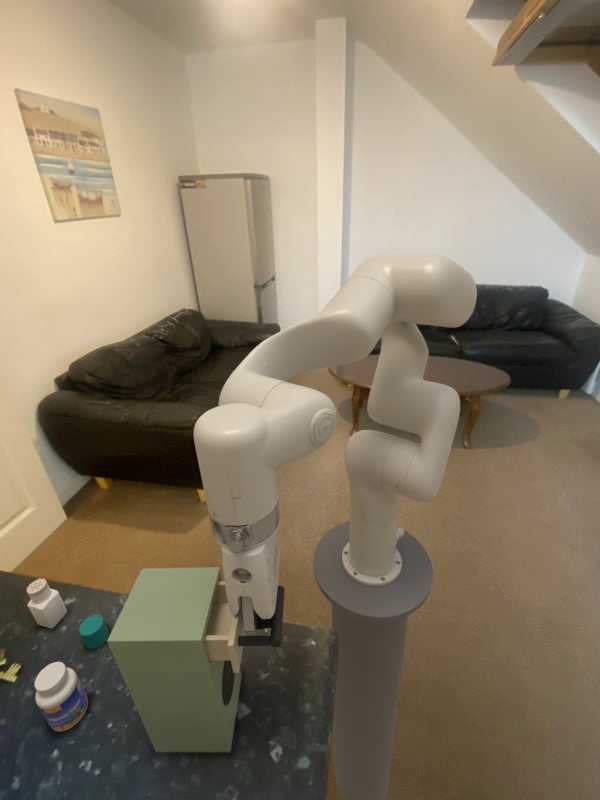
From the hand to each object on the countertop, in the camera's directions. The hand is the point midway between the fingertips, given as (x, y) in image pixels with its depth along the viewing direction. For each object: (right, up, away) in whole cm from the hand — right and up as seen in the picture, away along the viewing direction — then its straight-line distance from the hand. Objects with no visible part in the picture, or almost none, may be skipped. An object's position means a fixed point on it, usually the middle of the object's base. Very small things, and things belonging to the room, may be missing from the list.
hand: (260, 621), depth 48 cm
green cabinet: (-10, -20, +10) cm, 24 cm away
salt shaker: (-44, -15, +25) cm, 53 cm away
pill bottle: (-31, -21, +11) cm, 39 cm away
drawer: (-5, -2, +1) cm, 5 cm away
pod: (-33, -16, +21) cm, 42 cm away
